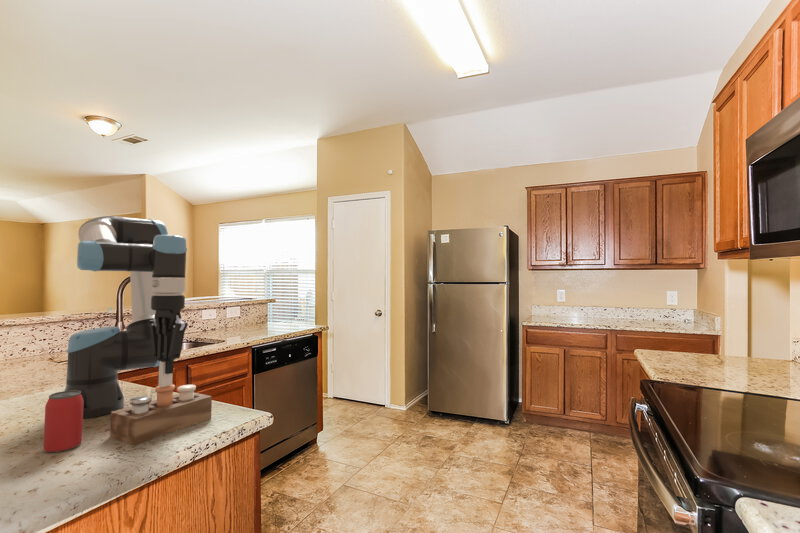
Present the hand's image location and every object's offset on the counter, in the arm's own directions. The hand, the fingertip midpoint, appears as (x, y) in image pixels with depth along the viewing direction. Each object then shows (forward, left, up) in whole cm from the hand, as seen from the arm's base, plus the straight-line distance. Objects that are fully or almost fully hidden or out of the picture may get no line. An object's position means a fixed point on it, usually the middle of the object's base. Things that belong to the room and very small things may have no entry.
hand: (165, 385), depth 101 cm
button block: (0, 0, -11) cm, 11 cm away
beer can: (-8, -18, -11) cm, 23 cm away
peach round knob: (0, 0, -7) cm, 7 cm away
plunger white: (0, +6, -9) cm, 10 cm away
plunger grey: (0, -6, -9) cm, 10 cm away
